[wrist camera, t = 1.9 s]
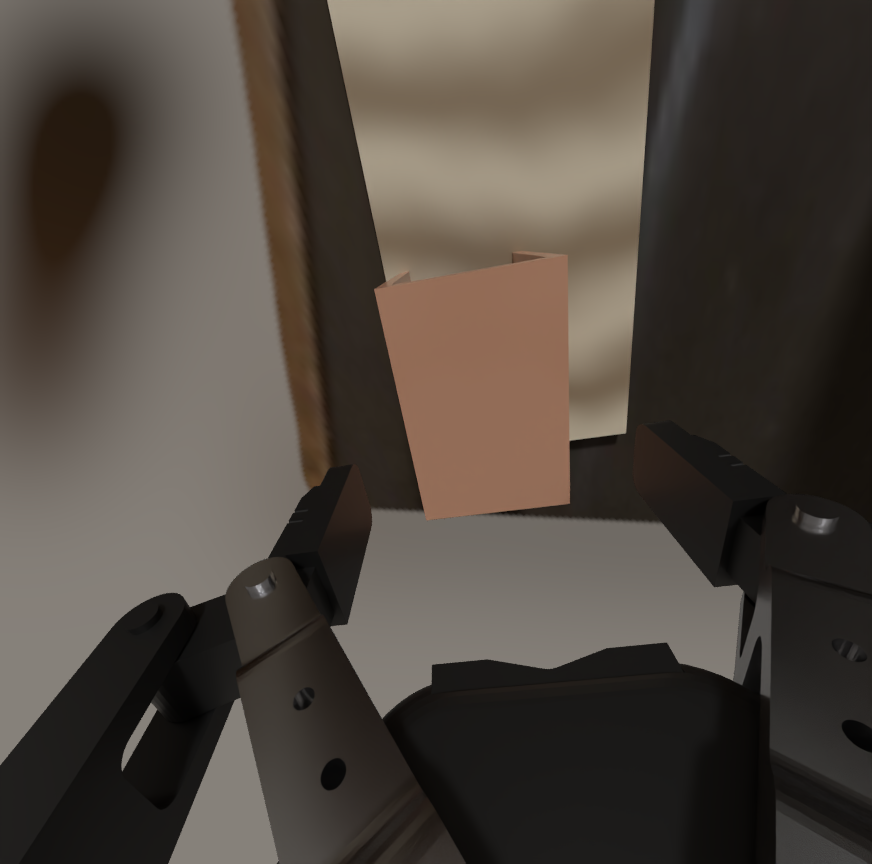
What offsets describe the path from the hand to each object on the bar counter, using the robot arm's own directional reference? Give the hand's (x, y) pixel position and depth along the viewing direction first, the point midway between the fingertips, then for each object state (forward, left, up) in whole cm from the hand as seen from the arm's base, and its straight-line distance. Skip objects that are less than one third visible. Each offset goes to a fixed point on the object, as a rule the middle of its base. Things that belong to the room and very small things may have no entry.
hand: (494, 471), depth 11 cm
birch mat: (-4, -4, -13) cm, 15 cm away
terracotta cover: (0, 0, -12) cm, 12 cm away
